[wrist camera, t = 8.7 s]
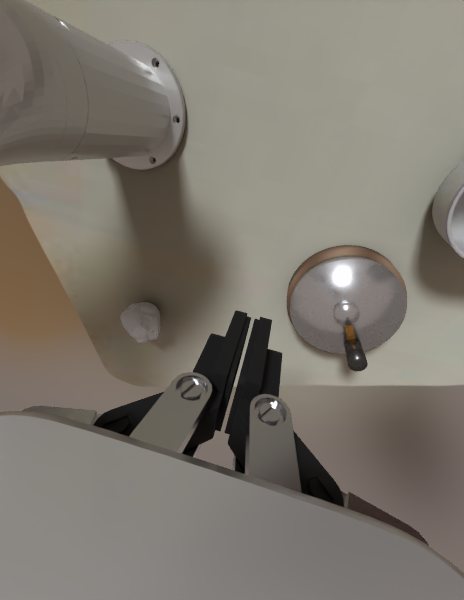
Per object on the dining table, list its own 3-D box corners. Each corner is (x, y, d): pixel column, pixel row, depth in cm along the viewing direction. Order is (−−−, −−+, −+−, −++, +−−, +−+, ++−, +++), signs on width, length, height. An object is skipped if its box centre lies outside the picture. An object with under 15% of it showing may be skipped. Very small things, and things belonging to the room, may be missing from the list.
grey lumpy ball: (168, 331, 49) (150, 356, 43) (132, 316, 49) (108, 340, 43) (175, 303, 46) (156, 326, 40) (135, 288, 46) (111, 309, 40)
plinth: (275, 325, 44) (274, 333, 42) (305, 233, 36) (305, 237, 35) (372, 352, 42) (375, 360, 41) (424, 261, 35) (430, 267, 33)
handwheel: (408, 338, 38) (423, 366, 33) (303, 353, 43) (304, 379, 38) (396, 241, 32) (412, 257, 28) (278, 270, 37) (275, 288, 32)
